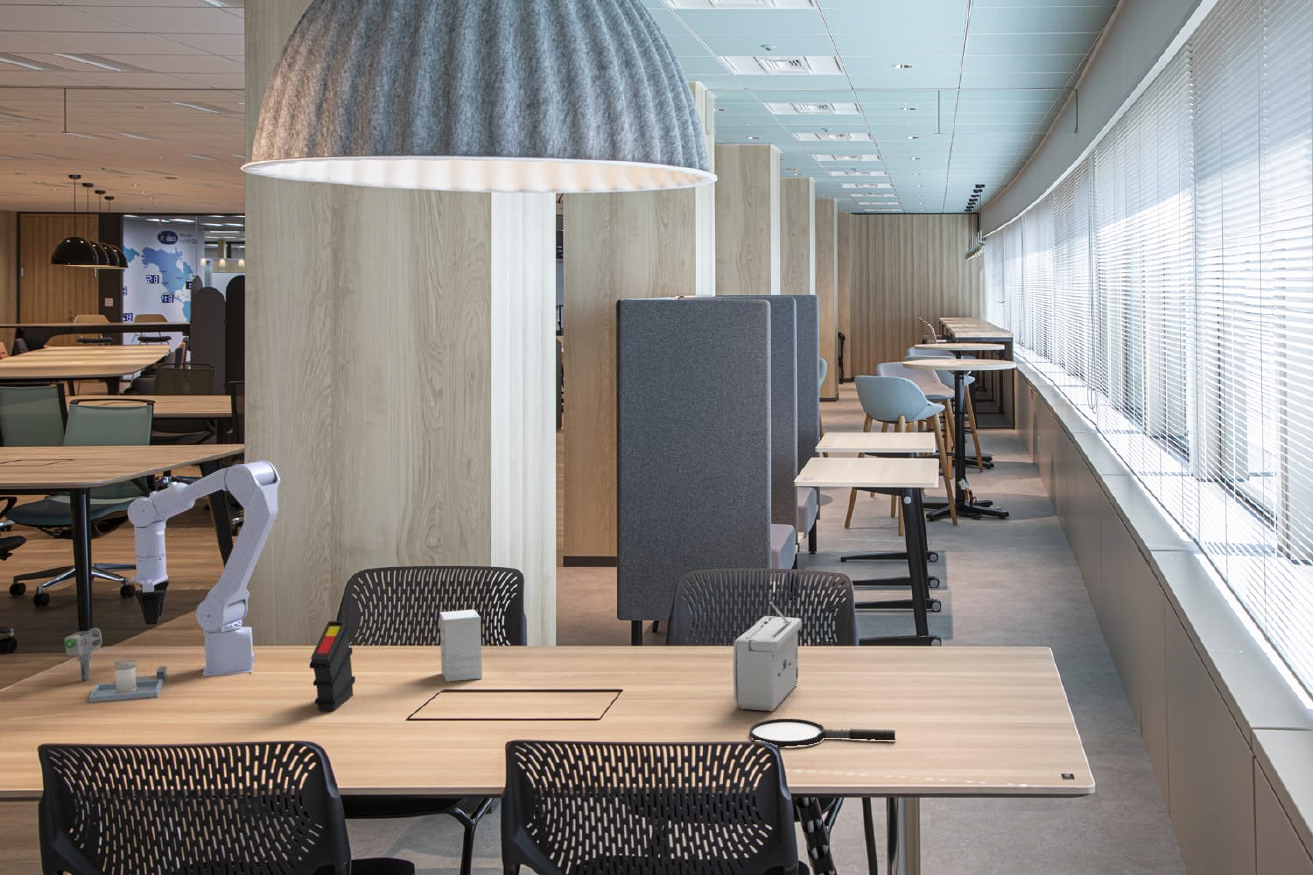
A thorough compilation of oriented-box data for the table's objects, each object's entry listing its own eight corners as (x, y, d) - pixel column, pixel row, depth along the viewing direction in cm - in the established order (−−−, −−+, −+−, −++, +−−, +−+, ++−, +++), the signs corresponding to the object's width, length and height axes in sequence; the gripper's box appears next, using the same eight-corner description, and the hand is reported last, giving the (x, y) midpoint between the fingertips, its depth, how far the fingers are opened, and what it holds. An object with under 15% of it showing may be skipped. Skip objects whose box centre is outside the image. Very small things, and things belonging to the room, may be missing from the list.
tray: (162, 686, 251) (162, 679, 251) (157, 699, 242) (157, 691, 242) (96, 691, 248) (96, 684, 248) (89, 704, 239) (88, 696, 239)
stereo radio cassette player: (762, 681, 249) (761, 579, 247) (803, 684, 246) (803, 581, 245) (732, 711, 229) (731, 601, 228) (776, 715, 227) (776, 603, 225)
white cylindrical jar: (137, 689, 247) (136, 658, 247) (135, 694, 244) (134, 663, 243) (117, 691, 246) (115, 660, 246) (114, 696, 243) (113, 665, 242)
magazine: (360, 682, 246) (347, 620, 238) (340, 730, 235) (325, 666, 227) (341, 681, 246) (327, 619, 239) (320, 729, 235) (304, 666, 227)
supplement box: (477, 669, 260) (475, 608, 259) (482, 679, 253) (481, 616, 252) (440, 673, 258) (439, 611, 257) (445, 682, 251) (443, 618, 250)
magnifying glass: (895, 755, 205) (895, 742, 205) (746, 751, 210) (745, 738, 209) (895, 731, 217) (894, 718, 217) (754, 728, 222) (753, 715, 222)
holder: (168, 676, 259) (167, 665, 259) (165, 682, 254) (165, 671, 254) (123, 679, 257) (123, 668, 256) (119, 686, 252) (119, 675, 251)
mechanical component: (106, 675, 260) (103, 626, 259) (78, 689, 250) (76, 638, 249) (92, 675, 260) (89, 626, 259) (64, 689, 250) (61, 638, 249)
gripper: (134, 550, 270) (137, 614, 271) (125, 562, 256) (128, 629, 257) (170, 548, 272) (173, 611, 273) (162, 560, 258) (165, 626, 259)
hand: (153, 620), depth 265 cm, fingers open, 7 cm apart
